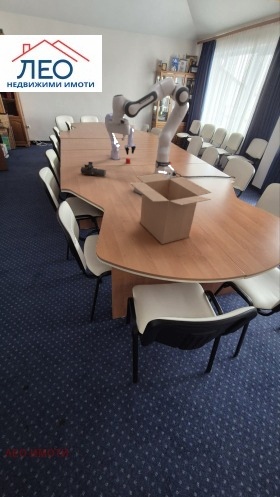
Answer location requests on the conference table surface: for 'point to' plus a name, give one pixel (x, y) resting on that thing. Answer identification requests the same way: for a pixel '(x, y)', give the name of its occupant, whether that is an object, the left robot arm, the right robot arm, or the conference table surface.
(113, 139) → the left robot arm
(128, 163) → the canister
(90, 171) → the laser sight
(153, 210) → the box
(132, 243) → the conference table surface
